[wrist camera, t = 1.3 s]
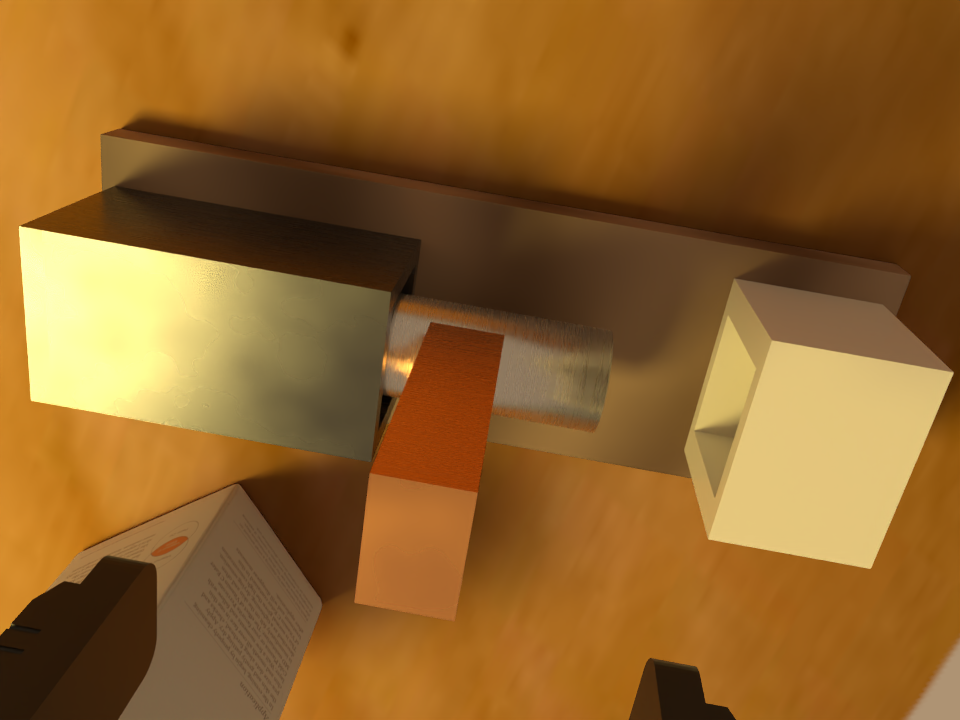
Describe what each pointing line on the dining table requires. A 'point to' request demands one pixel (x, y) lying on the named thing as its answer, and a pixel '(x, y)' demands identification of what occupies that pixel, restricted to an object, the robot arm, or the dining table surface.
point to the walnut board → (533, 274)
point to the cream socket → (810, 422)
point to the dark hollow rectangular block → (214, 318)
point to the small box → (216, 611)
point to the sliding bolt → (460, 434)
